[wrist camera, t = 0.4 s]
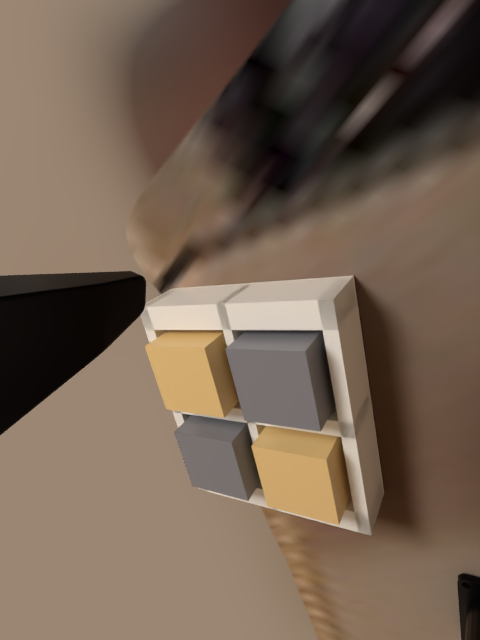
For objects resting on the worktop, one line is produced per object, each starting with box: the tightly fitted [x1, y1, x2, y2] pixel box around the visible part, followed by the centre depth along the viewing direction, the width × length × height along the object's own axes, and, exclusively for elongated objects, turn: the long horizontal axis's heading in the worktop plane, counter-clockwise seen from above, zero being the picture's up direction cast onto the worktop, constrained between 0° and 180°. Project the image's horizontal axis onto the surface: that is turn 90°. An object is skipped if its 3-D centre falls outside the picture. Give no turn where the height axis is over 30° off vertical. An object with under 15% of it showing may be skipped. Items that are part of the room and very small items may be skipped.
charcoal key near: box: [225, 330, 336, 432], centre depth 22 cm, size 5×5×3 cm
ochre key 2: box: [251, 426, 351, 525], centre depth 25 cm, size 5×5×3 cm
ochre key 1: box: [145, 330, 239, 418], centre depth 26 cm, size 5×5×3 cm
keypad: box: [140, 276, 384, 536], centre depth 26 cm, size 15×13×4 cm
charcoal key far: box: [174, 415, 261, 501], centre depth 28 cm, size 5×5×3 cm
